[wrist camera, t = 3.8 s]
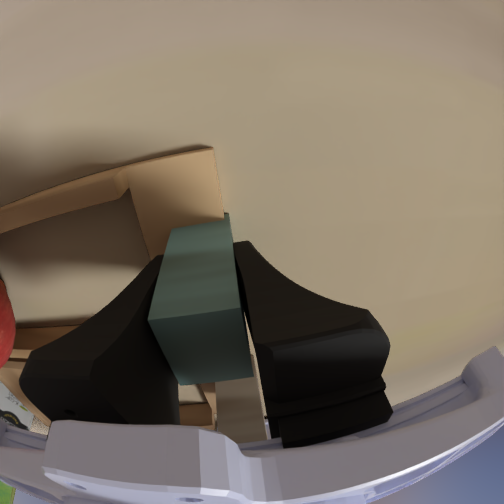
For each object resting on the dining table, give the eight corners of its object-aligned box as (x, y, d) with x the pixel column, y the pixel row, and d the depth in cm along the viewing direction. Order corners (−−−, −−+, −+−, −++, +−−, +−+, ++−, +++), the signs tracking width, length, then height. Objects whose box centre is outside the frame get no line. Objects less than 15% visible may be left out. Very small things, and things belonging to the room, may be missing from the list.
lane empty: (261, 401, 20) (274, 471, 15) (52, 405, 19) (38, 457, 14) (246, 321, 15) (262, 419, 10) (-4, 340, 14) (-32, 398, 9)
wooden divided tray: (246, 316, 15) (262, 415, 10) (-6, 337, 14) (-36, 395, 9) (218, 146, 11) (220, 193, 6) (-60, 236, 10) (-110, 287, 5)
